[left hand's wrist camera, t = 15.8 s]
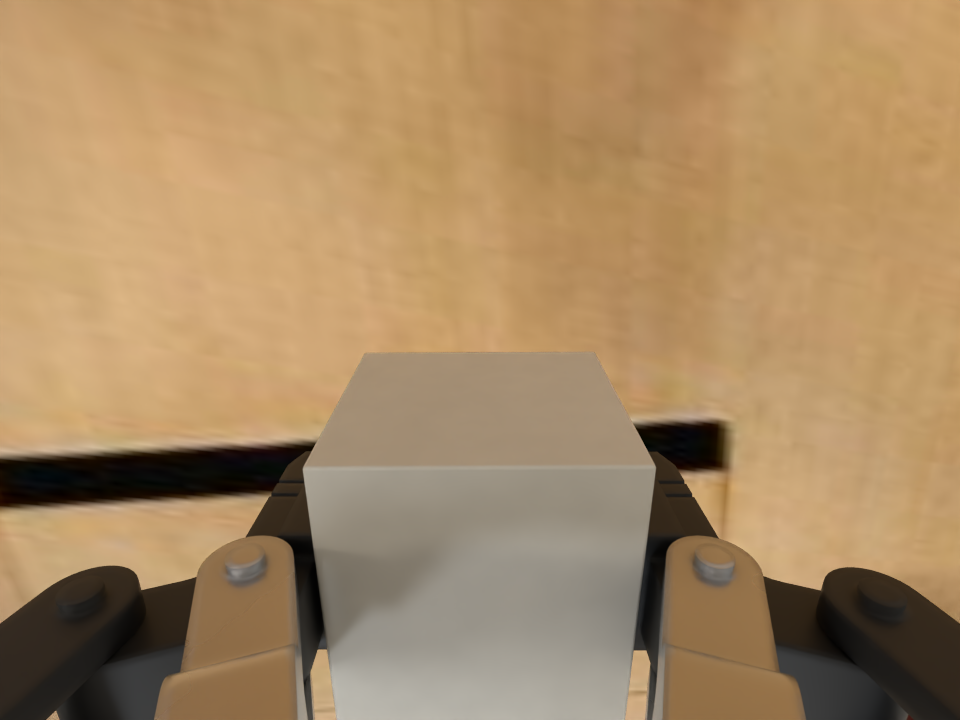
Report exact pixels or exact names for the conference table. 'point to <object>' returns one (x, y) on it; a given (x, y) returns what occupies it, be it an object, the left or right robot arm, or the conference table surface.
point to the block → (480, 538)
